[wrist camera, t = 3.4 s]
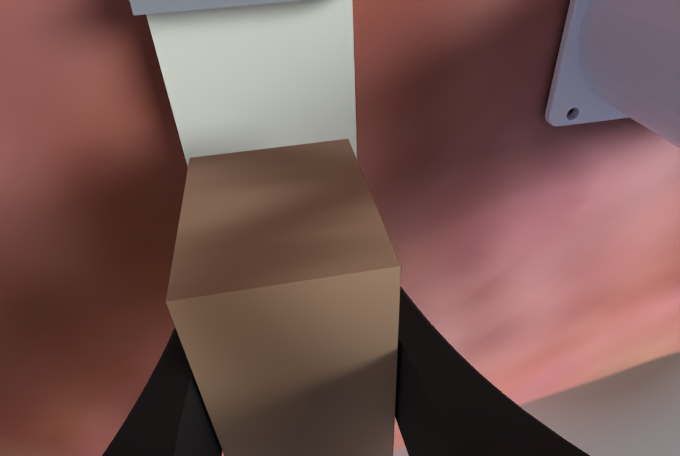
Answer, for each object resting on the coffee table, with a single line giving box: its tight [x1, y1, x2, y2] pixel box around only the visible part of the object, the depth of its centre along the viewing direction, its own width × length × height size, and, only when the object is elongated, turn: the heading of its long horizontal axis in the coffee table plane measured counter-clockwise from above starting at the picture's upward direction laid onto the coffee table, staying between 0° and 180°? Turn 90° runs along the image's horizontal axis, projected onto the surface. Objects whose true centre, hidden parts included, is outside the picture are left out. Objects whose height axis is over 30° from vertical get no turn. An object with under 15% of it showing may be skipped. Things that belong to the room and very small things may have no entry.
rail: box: [129, 0, 357, 166], centre depth 19 cm, size 6×24×6 cm, turn 3°
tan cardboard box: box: [166, 139, 401, 456], centre depth 12 cm, size 4×8×5 cm, turn 3°
